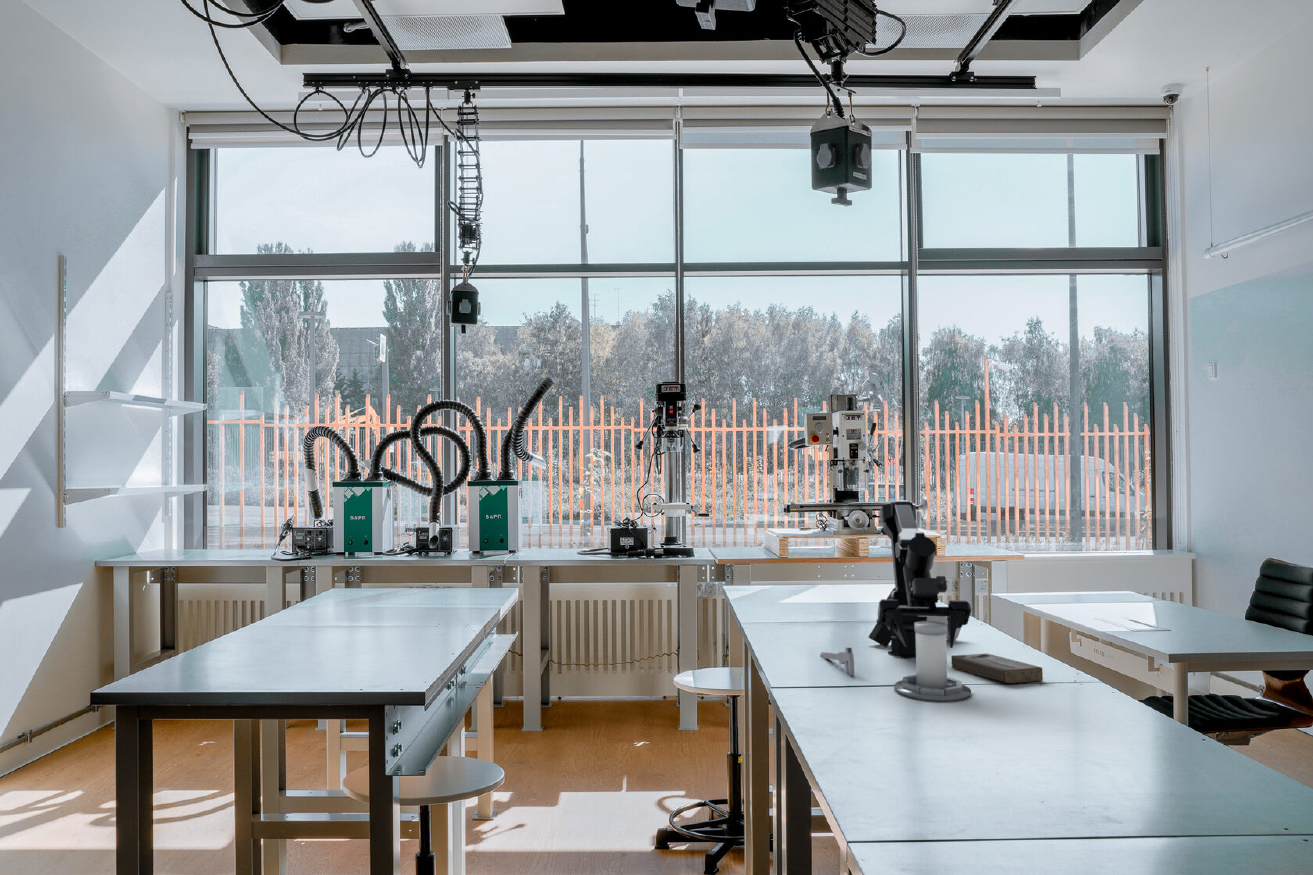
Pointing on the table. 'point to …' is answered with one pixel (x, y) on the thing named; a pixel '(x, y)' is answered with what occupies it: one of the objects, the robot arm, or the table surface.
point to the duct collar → (932, 691)
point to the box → (997, 668)
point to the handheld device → (884, 635)
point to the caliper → (842, 659)
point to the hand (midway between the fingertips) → (928, 646)
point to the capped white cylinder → (931, 654)
